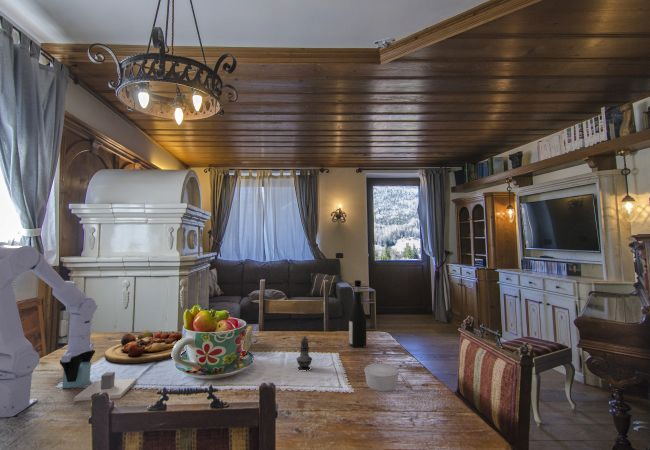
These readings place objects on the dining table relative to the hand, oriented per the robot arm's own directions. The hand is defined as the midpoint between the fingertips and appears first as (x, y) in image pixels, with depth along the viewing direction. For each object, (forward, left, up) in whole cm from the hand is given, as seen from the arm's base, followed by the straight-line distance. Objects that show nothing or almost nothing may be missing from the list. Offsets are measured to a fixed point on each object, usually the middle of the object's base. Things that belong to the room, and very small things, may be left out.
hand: (76, 377), depth 103 cm
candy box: (+30, -52, -2) cm, 60 cm away
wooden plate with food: (+33, -11, -3) cm, 35 cm away
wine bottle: (+27, -102, -2) cm, 106 cm away
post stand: (-7, -12, -2) cm, 14 cm away
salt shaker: (+2, -74, -2) cm, 74 cm away
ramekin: (-17, -97, -2) cm, 99 cm away
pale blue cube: (0, 0, -2) cm, 2 cm away
